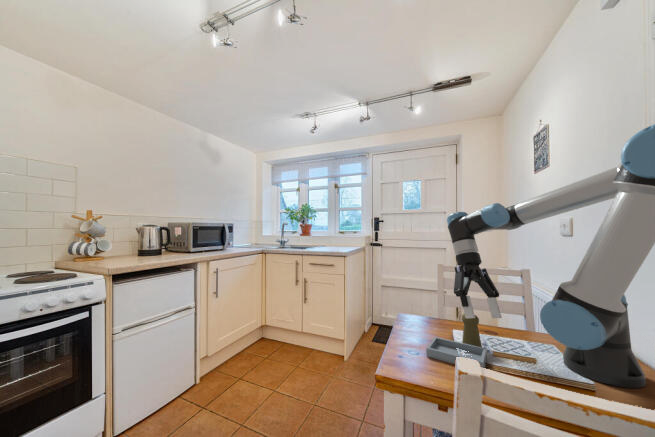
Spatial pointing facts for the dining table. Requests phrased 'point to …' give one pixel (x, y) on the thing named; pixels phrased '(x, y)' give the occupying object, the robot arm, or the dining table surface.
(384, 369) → the dining table surface
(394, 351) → the dining table surface
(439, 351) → the trough
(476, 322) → the cork
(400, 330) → the dining table surface
